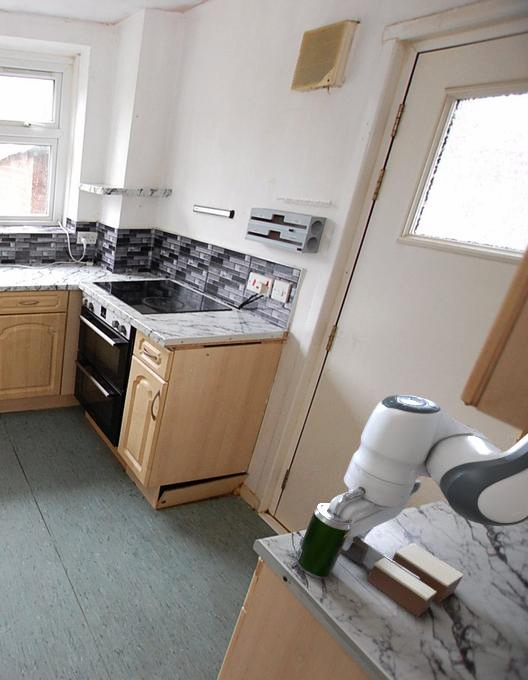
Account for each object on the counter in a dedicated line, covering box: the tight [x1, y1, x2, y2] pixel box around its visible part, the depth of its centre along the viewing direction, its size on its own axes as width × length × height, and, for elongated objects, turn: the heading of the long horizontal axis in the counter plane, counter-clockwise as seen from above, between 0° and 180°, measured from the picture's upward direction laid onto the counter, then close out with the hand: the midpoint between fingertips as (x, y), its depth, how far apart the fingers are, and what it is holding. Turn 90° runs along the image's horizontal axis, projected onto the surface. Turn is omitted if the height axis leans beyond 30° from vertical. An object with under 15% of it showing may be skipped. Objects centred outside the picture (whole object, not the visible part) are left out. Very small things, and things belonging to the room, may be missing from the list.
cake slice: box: [366, 557, 436, 617], centre depth 76 cm, size 8×3×4 cm, turn 27°
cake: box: [391, 542, 464, 604], centre depth 79 cm, size 8×6×4 cm
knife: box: [340, 536, 420, 580], centre depth 81 cm, size 13×2×4 cm, turn 28°
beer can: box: [296, 502, 352, 580], centre depth 79 cm, size 5×5×12 cm
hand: (349, 544), depth 84 cm, fingers closed on knife, 2 cm apart
